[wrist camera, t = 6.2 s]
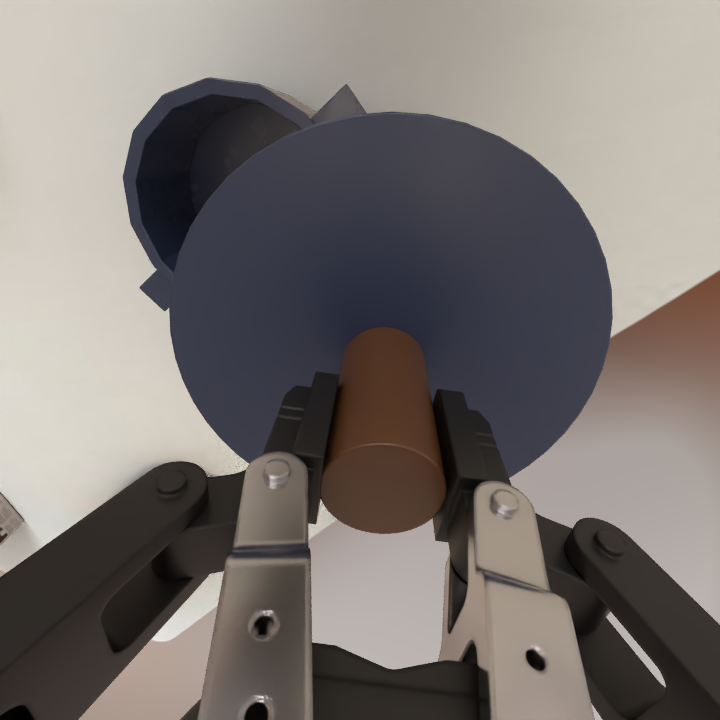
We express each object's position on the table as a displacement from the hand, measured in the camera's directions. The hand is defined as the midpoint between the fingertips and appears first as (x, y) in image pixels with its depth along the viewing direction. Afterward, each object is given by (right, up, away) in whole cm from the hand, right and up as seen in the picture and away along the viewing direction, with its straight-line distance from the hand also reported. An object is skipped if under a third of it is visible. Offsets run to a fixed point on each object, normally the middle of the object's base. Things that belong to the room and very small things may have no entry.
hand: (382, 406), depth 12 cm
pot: (-8, +15, +21) cm, 27 cm away
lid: (0, +2, +3) cm, 3 cm away
